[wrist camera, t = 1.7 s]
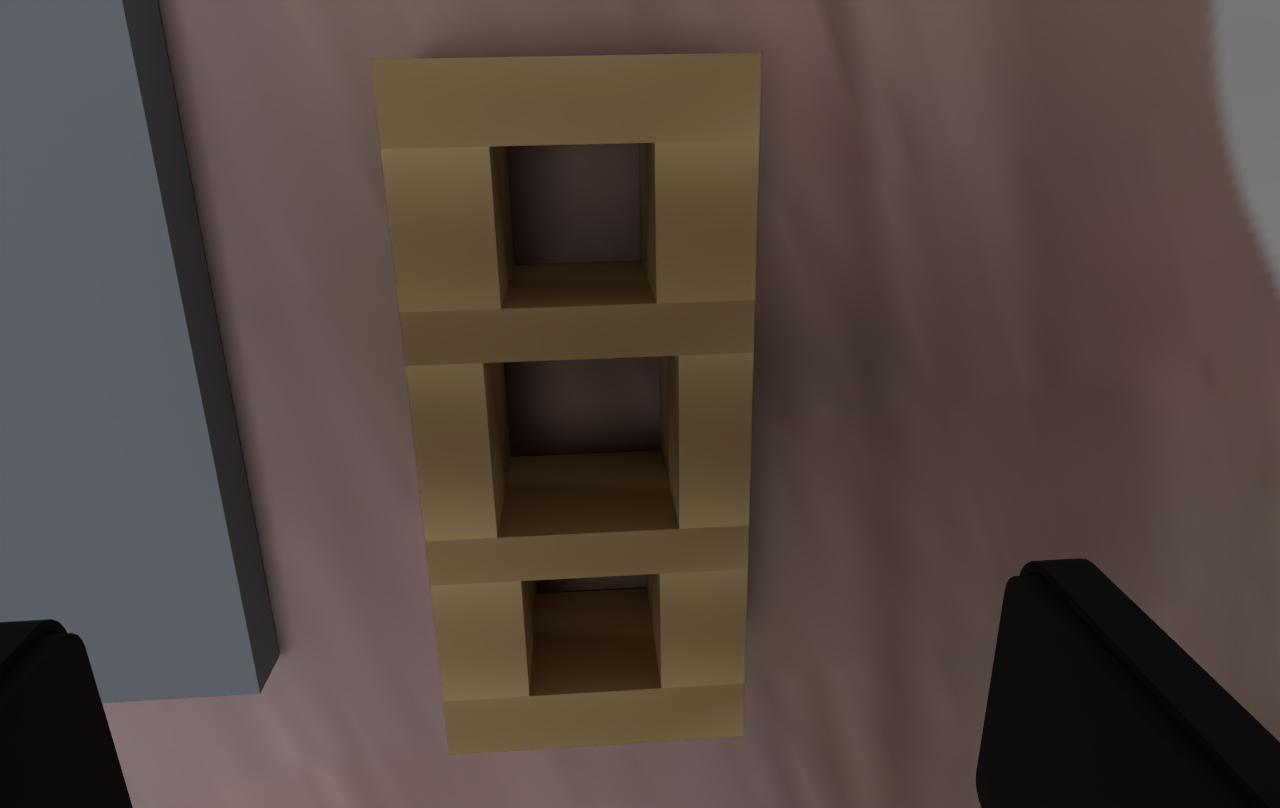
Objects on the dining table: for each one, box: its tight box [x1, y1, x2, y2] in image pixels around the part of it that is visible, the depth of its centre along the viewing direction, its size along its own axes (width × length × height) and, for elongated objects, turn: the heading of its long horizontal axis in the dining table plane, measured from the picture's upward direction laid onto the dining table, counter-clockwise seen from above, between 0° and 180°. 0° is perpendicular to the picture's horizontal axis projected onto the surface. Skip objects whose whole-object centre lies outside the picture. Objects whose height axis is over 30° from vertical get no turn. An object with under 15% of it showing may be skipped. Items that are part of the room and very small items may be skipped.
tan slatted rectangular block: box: [370, 52, 762, 755], centre depth 19 cm, size 14×6×4 cm, turn 1°
